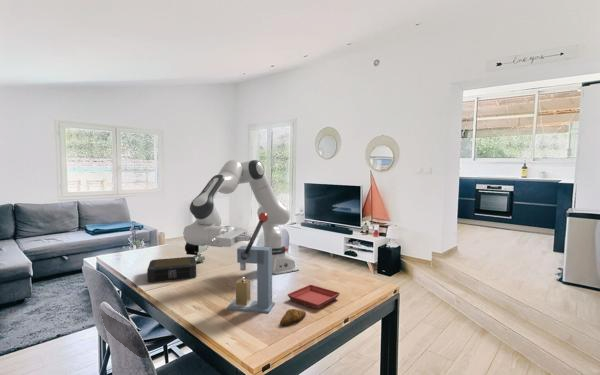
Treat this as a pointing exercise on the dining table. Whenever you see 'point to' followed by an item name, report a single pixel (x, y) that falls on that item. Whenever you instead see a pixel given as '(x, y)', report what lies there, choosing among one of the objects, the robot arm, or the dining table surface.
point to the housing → (243, 291)
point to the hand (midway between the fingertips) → (250, 238)
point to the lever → (254, 235)
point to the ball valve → (196, 251)
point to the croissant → (292, 316)
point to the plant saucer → (313, 296)
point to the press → (264, 279)
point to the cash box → (171, 269)
